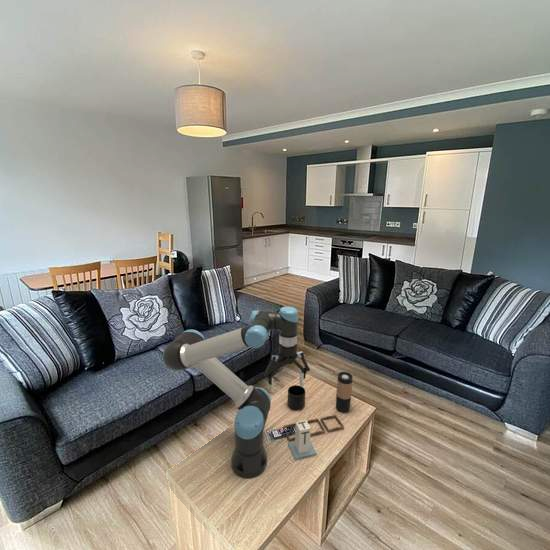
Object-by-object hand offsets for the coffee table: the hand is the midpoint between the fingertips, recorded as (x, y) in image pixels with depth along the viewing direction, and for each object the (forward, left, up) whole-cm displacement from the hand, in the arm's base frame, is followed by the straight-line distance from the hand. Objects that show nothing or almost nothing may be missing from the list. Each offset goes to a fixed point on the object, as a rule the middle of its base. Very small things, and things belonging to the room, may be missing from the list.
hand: (286, 387), depth 127 cm
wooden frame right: (+26, +4, -29) cm, 39 cm away
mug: (+15, +23, -29) cm, 40 cm away
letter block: (+6, -6, -28) cm, 29 cm away
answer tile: (+6, -6, -29) cm, 30 cm away
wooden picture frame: (+6, +4, -29) cm, 30 cm away
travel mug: (+37, +13, -29) cm, 49 cm away
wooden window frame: (+16, +4, -29) cm, 33 cm away
